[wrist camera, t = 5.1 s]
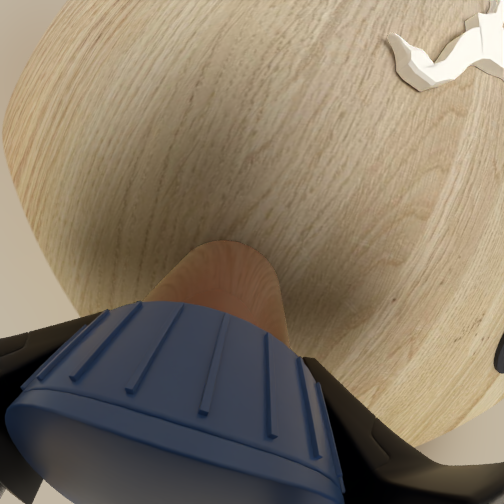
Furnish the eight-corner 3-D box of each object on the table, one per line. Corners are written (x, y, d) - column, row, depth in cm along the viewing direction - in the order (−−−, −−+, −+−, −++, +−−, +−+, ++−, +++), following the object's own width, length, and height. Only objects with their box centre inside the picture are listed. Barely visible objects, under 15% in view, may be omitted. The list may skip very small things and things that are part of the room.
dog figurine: (431, -64, 4) (385, 48, 9) (534, 29, 5) (527, 192, 10) (423, -55, 6) (372, 61, 11) (523, 33, 7) (510, 189, 12)
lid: (367, 333, 5) (437, 451, 2) (278, 482, 7) (280, 557, 4) (65, 261, 5) (-45, 322, 2) (93, 437, 7) (58, 500, 4)
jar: (292, 323, 14) (328, 523, 4) (197, 348, 15) (138, 523, 4) (260, 224, 13) (259, 391, 2) (157, 259, 14) (2, 398, 3)
